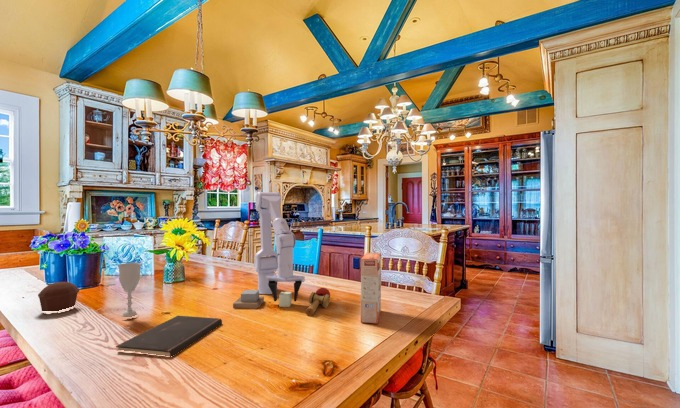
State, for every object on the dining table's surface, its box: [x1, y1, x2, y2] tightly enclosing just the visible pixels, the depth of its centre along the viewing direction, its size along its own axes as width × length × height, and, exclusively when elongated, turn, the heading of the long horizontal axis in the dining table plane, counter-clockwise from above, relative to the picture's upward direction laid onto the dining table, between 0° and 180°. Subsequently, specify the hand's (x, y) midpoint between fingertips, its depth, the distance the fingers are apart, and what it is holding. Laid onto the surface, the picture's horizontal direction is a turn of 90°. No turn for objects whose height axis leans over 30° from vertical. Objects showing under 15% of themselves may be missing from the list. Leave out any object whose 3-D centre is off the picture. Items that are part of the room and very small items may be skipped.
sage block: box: [278, 291, 293, 308], centre depth 120 cm, size 4×4×4 cm
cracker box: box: [360, 252, 382, 325], centre depth 107 cm, size 14×6×21 cm, turn 168°
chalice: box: [117, 262, 143, 317], centre depth 106 cm, size 7×7×18 cm
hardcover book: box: [115, 315, 223, 357], centre depth 90 cm, size 16×23×2 cm
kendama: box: [305, 287, 331, 317], centre depth 116 cm, size 8×6×18 cm
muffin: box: [37, 281, 80, 312], centre depth 114 cm, size 12×11×10 cm
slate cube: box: [240, 289, 260, 302], centre depth 120 cm, size 6×6×3 cm
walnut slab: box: [232, 296, 265, 310], centre depth 120 cm, size 9×9×2 cm
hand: (285, 300), depth 120 cm, fingers open, 7 cm apart
